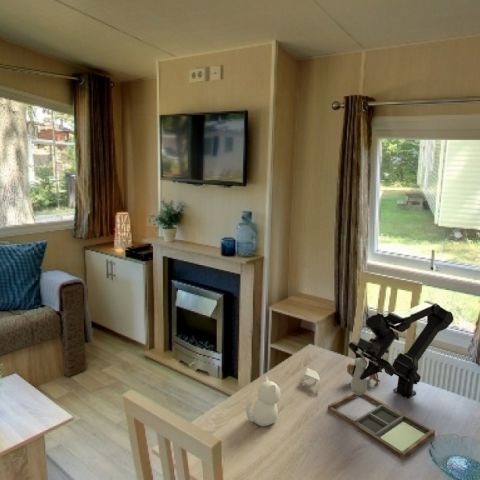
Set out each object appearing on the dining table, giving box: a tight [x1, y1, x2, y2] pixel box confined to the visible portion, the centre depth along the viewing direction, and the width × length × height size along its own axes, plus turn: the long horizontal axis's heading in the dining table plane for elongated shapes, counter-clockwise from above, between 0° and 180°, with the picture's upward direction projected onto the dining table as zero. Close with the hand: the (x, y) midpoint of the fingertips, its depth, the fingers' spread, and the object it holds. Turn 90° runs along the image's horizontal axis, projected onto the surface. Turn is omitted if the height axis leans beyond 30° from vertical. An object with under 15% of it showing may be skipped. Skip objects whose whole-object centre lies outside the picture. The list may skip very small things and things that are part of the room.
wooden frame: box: [327, 391, 436, 461], centre depth 139 cm, size 19×30×2 cm, turn 37°
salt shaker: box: [350, 358, 368, 396], centre depth 144 cm, size 6×6×13 cm
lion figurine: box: [346, 362, 381, 386], centre depth 163 cm, size 15×5×9 cm, turn 97°
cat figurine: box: [245, 375, 282, 427], centre depth 137 cm, size 9×12×15 cm
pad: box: [379, 421, 426, 452], centre depth 132 cm, size 14×8×1 cm, turn 127°
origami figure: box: [298, 367, 321, 393], centre depth 160 cm, size 12×8×5 cm
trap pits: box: [353, 404, 404, 438], centre depth 139 cm, size 17×9×2 cm, turn 127°
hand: (356, 376), depth 143 cm, fingers closed on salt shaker, 3 cm apart
